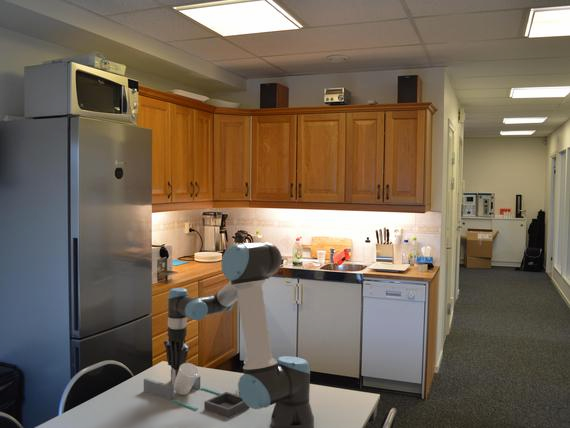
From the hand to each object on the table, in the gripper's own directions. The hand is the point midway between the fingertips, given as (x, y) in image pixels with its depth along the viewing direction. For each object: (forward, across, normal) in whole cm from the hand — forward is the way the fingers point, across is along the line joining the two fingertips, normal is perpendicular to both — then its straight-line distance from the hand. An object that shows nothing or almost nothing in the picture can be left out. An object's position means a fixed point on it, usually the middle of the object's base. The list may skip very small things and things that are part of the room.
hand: (175, 383), depth 214 cm
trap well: (+2, -28, 0) cm, 28 cm away
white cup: (+1, -4, 0) cm, 4 cm away
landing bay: (+2, -14, 0) cm, 14 cm away
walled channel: (+3, +2, 0) cm, 3 cm away
